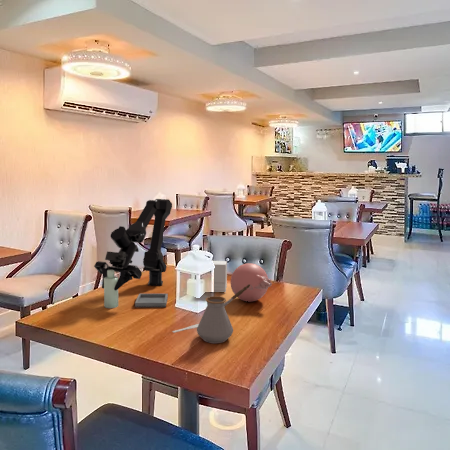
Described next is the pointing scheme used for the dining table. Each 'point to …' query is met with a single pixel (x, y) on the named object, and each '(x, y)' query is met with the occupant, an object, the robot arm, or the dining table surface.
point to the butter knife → (186, 328)
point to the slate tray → (151, 300)
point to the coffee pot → (217, 319)
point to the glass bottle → (110, 290)
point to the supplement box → (220, 276)
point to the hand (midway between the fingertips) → (108, 288)
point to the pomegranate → (250, 282)
